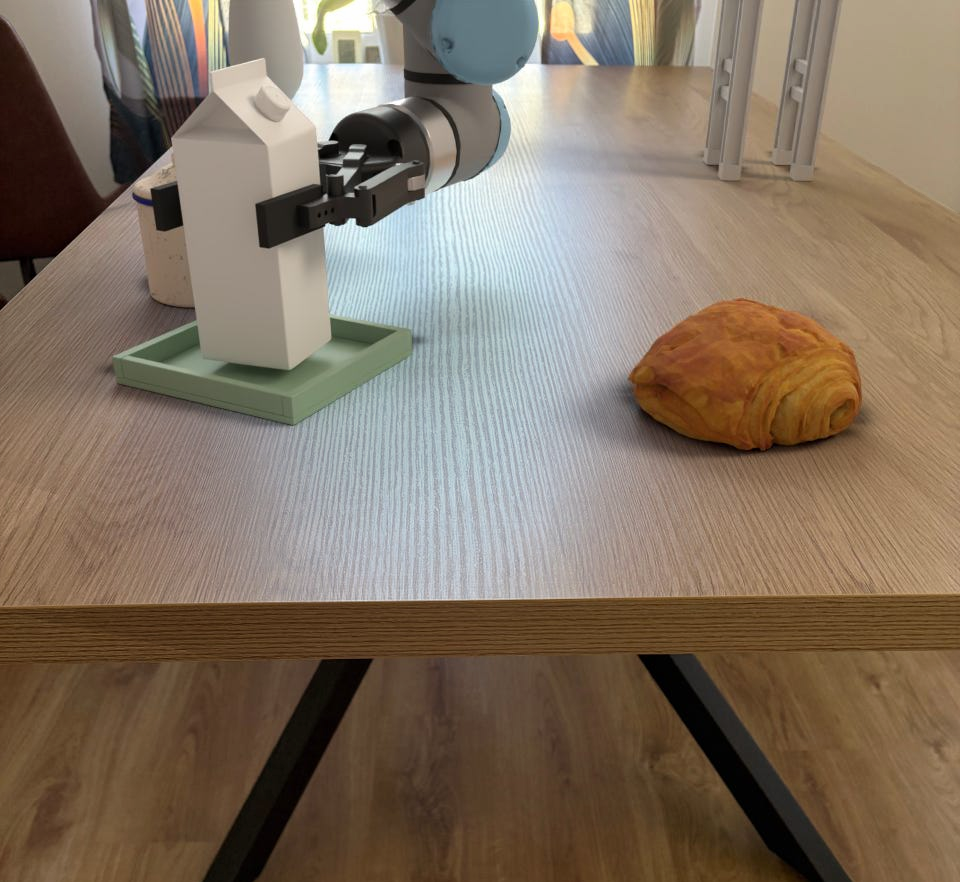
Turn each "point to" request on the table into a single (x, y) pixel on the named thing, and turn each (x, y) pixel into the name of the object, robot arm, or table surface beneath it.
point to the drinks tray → (265, 370)
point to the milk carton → (250, 222)
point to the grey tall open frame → (799, 89)
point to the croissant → (749, 377)
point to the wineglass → (267, 40)
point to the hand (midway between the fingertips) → (208, 218)
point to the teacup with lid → (163, 246)
